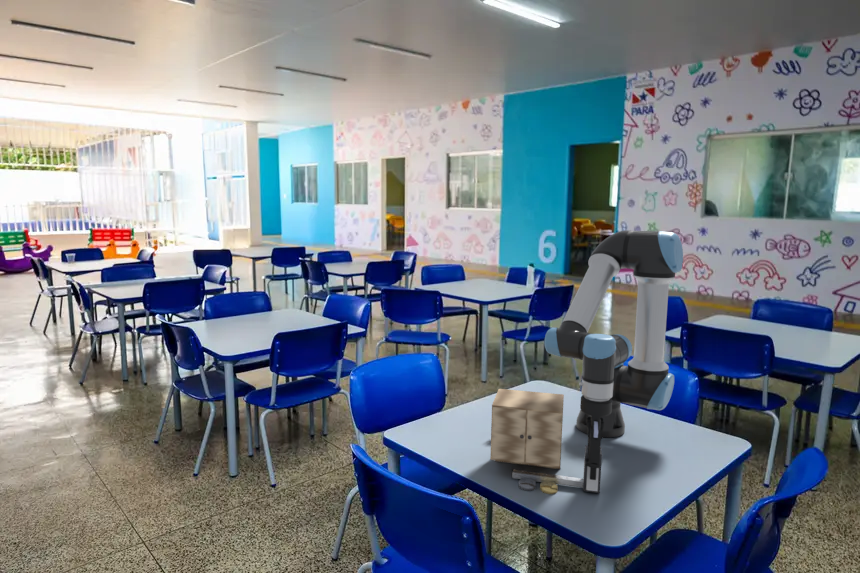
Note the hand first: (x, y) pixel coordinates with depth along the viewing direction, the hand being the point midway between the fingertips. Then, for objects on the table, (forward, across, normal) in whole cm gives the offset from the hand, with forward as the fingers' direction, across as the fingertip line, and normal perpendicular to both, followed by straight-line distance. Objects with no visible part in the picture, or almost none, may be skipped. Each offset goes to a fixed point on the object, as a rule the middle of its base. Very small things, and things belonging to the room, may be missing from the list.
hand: (591, 484), depth 142 cm
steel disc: (+2, +3, -16) cm, 16 cm away
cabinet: (+1, -6, -17) cm, 18 cm away
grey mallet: (+1, 0, -9) cm, 9 cm away
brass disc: (+2, +3, -10) cm, 11 cm away
